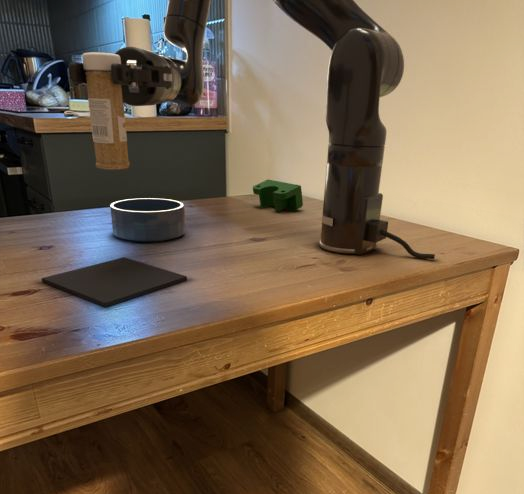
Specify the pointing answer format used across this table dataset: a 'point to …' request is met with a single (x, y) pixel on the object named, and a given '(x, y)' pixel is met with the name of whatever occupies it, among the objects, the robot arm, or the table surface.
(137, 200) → the bowl
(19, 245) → the table surface
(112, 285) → the mat
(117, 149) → the sprinkles bottle
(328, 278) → the table surface
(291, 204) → the clamp
